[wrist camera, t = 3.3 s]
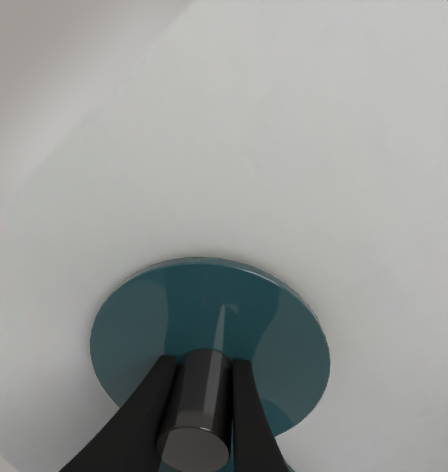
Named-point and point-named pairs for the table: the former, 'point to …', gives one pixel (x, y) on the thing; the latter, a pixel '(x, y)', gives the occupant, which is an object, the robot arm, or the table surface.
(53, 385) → the table surface
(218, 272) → the tin lid
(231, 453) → the tin
